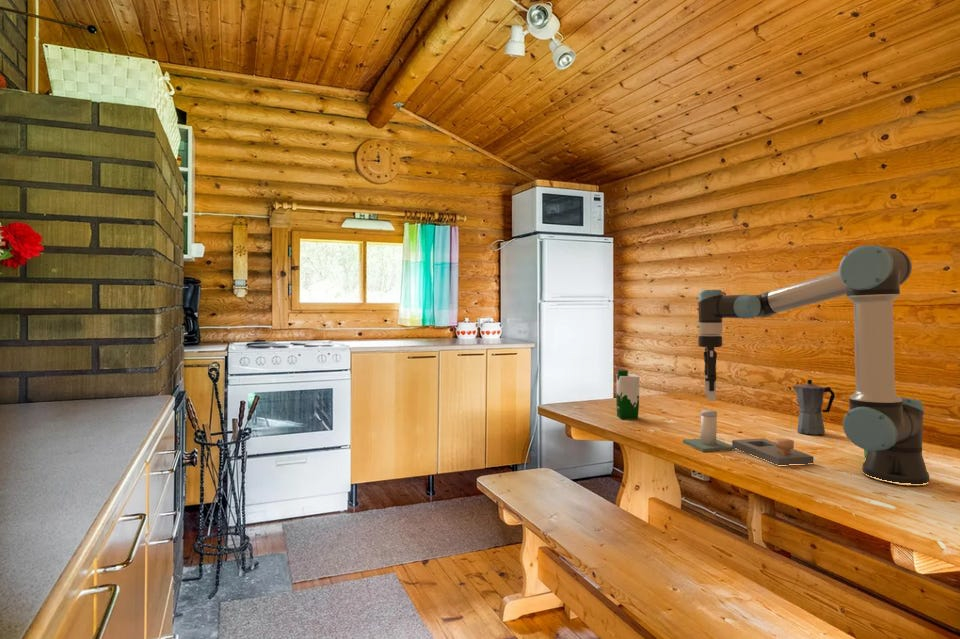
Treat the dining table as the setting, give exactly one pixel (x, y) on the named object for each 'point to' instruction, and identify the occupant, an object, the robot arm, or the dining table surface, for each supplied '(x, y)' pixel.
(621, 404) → the milk carton
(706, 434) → the cylinder
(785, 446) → the brown mushroom
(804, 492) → the dining table surface
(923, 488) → the dining table surface
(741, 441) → the housing
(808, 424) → the moka pot
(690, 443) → the mat
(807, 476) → the dining table surface
